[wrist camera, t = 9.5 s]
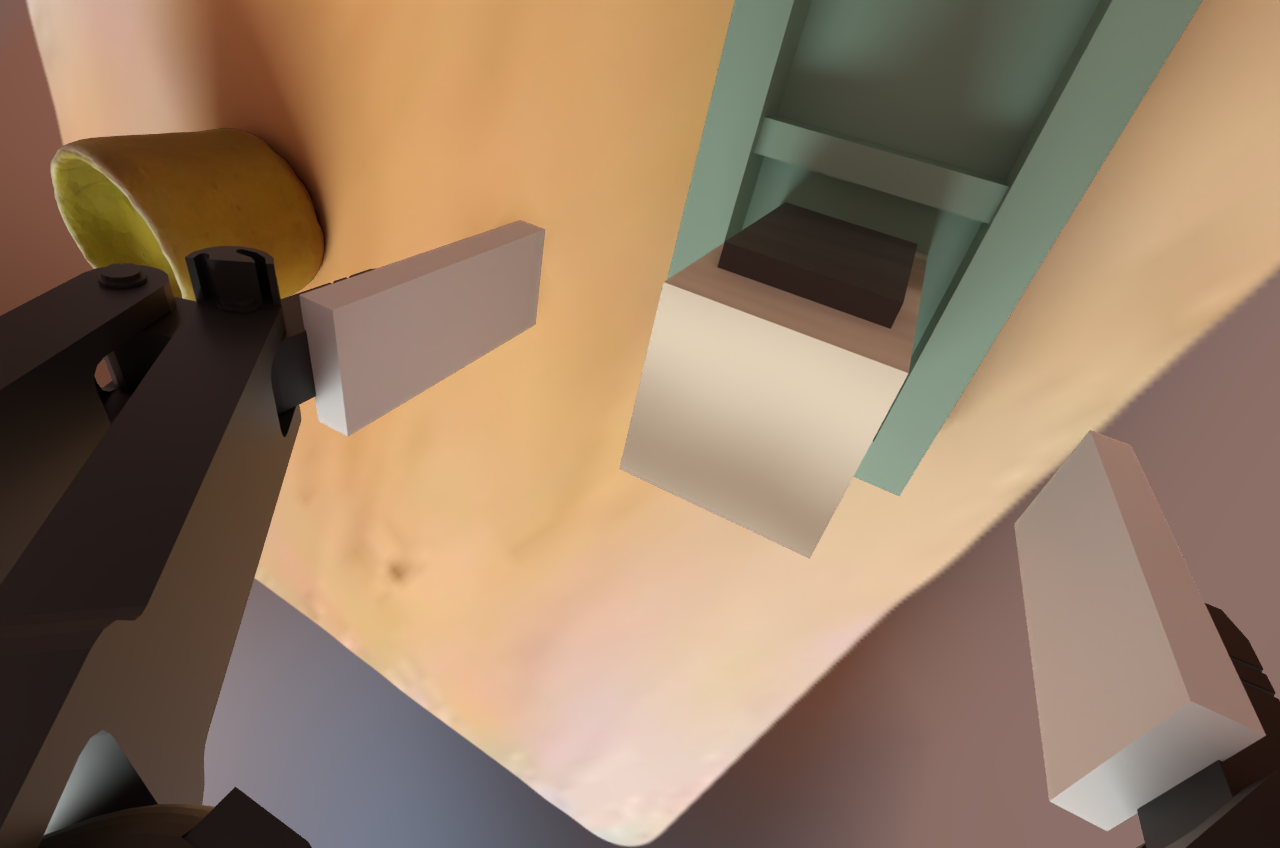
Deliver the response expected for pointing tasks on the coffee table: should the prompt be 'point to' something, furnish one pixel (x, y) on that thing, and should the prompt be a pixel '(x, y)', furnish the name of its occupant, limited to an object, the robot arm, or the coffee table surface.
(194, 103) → the coffee table surface
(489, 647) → the coffee table surface
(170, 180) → the mug
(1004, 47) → the teal slotted holder
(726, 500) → the block
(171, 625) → the robot arm
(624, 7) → the coffee table surface
